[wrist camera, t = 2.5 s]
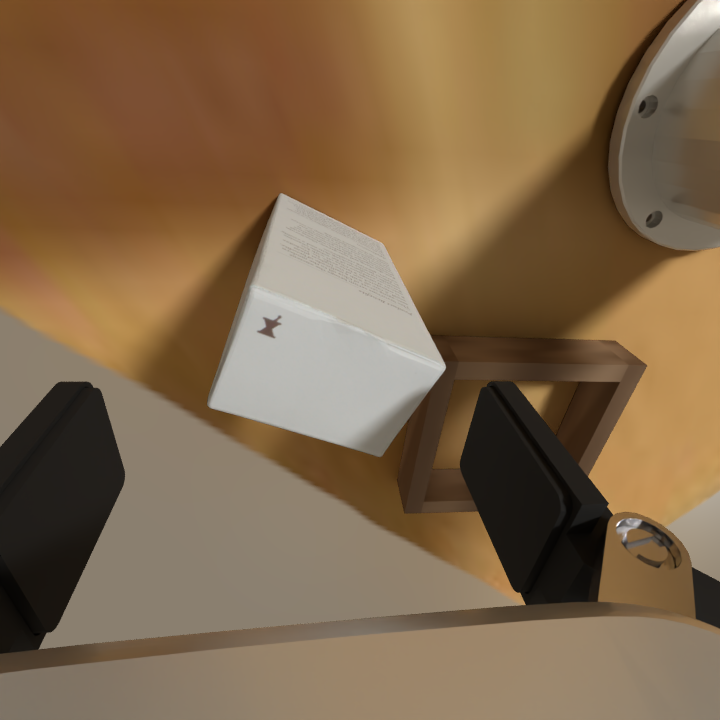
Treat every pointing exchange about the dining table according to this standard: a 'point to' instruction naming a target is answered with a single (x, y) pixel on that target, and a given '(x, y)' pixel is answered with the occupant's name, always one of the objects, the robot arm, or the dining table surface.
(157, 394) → the dining table surface
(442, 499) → the socket
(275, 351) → the skincare box
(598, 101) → the dining table surface
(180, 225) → the dining table surface
